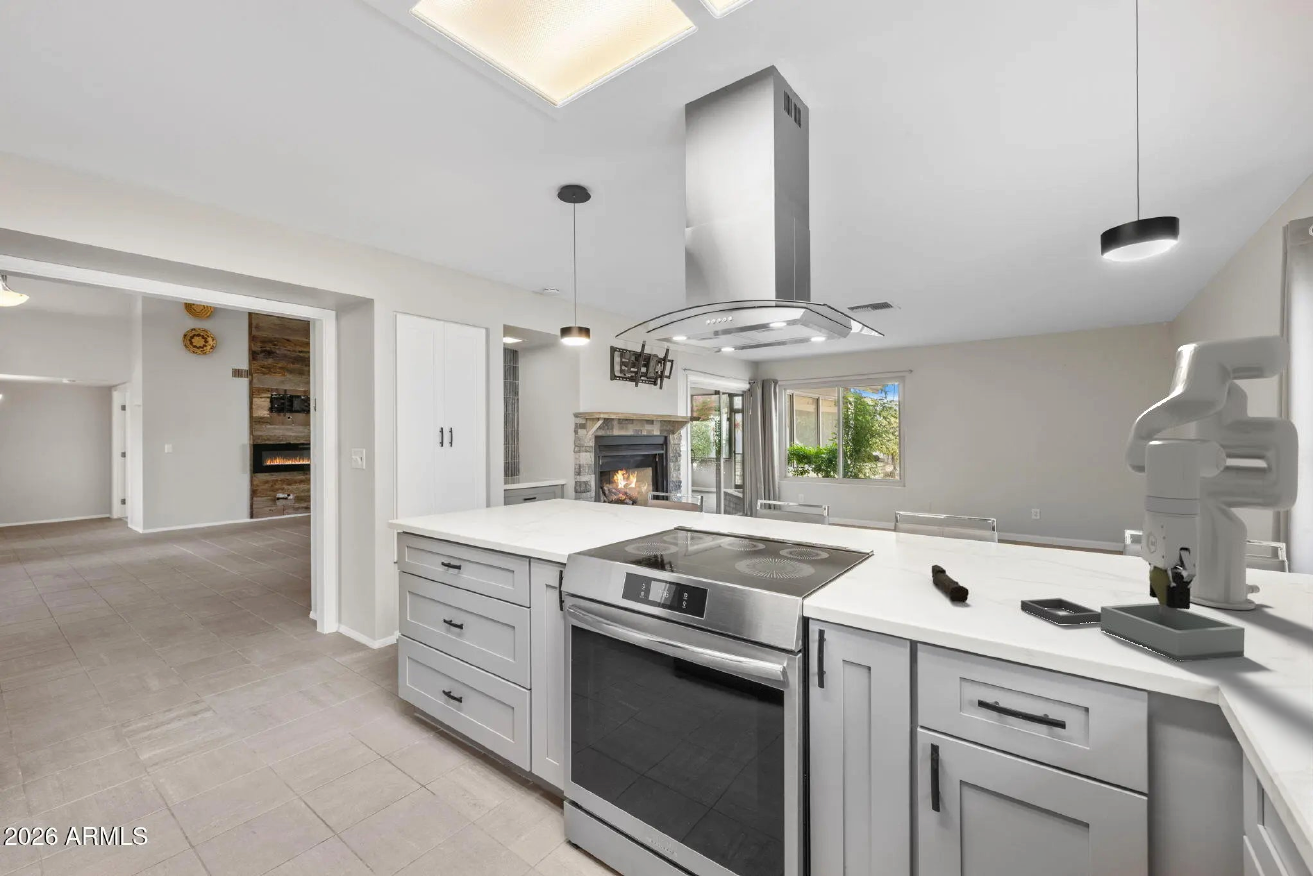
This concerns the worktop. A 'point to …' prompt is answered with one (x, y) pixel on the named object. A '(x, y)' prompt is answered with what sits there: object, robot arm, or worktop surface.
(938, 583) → the hand tool
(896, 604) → the worktop surface
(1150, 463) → the robot arm
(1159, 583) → the light bulb
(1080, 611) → the bulb holder
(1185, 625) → the bin
